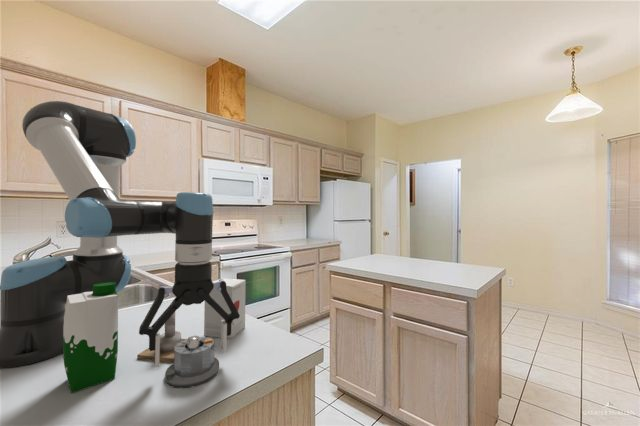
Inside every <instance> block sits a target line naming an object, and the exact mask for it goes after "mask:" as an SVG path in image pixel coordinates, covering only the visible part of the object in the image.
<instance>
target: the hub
mask: <svg viewBox="0 0 640 426" xmlns="http://www.w3.org/2000/svg"><path fill="white" fill-rule="evenodd" d="M199 337H200V336H199V335H191V336H189V337H188V338H187V339H188V340H187V349H196V348H199ZM219 372H220V361H219V360H218V358H217V357H215V356H214V365H213V367H212V368H211V370H209V371H208V372H206V373H204V374H202V375H199V376H195V377H179V376H177V375H175V373H174V363H171V365H169V366H168V367H167V368H166V370H165V373H164V381H165V384H166V385H168V386H169V387H171V388H175V389H188V388H194V387H198V386H200V385H203V384H206V383H207V382H209V381H211V380H212V379H214V378H215V377H216V376H217V375H218V374H219Z"/></svg>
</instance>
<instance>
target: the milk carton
mask: <svg viewBox="0 0 640 426" xmlns="http://www.w3.org/2000/svg"><path fill="white" fill-rule="evenodd" d="M118 348H119V296H118V292H116V283H115V282H103V283H97V284H94V285H93V291H92V292H83V293H81V294H74V295H68V296H67V302H66V307H65V315H64V326H63V353H62V354H63V356H62V357H63V358H62V359H63V364H64V365H63V366H64V370H65V374H66V377H67V382H68V386H69V389H70V393H71V394H73V393H75V392H78V391H79V392H80V391H81V390H85V389H87V388H91V387H94V386H97V385H100V384H103V383H105V382H109V381H112V380H115V379H116V372H117V363H118V362H117V361H118V355H119V354H118V351H119V349H118Z"/></svg>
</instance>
